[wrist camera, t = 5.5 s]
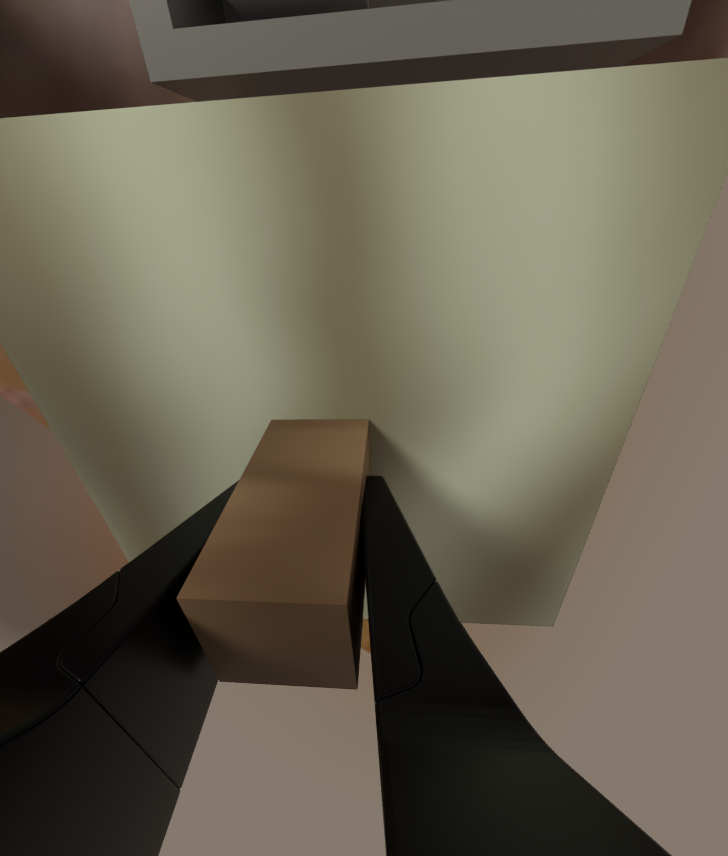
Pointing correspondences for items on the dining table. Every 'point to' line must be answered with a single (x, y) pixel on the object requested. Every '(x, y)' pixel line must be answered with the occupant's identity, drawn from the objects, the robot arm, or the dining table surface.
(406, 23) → the storage box
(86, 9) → the dining table surface
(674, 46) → the dining table surface
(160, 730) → the robot arm
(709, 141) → the lid
